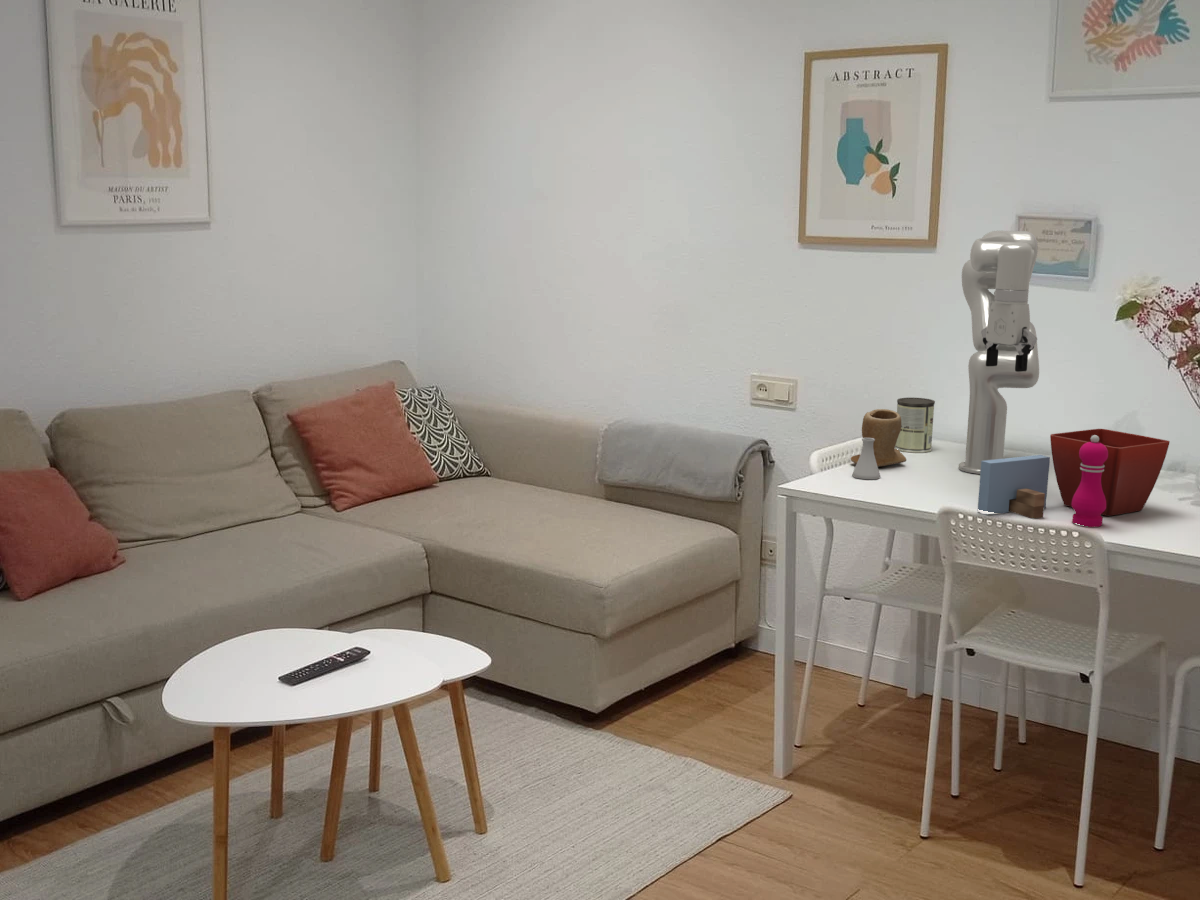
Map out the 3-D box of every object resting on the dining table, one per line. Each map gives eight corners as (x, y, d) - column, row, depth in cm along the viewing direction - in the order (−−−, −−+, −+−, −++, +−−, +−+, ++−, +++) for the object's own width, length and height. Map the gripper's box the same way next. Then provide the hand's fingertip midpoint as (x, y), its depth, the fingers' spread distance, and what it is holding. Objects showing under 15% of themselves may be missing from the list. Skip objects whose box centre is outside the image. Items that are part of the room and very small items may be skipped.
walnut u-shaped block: (982, 503, 308) (984, 480, 307) (992, 501, 309) (994, 479, 308) (1033, 518, 294) (1035, 494, 293) (1042, 517, 295) (1044, 493, 294)
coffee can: (892, 445, 376) (895, 396, 374) (928, 446, 375) (931, 397, 373) (896, 452, 366) (899, 402, 363) (934, 453, 365) (937, 403, 363)
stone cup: (873, 472, 340) (877, 415, 337) (844, 463, 350) (847, 408, 347) (918, 467, 347) (921, 411, 344) (888, 459, 357) (891, 404, 354)
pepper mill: (1064, 519, 294) (1072, 432, 290) (1095, 519, 294) (1103, 432, 290) (1078, 528, 287) (1086, 438, 283) (1110, 527, 287) (1118, 438, 283)
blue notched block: (986, 515, 296) (990, 463, 294) (977, 512, 299) (981, 460, 297) (1045, 507, 304) (1049, 457, 302) (1036, 504, 307) (1040, 454, 305)
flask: (880, 481, 330) (882, 442, 328) (851, 479, 331) (853, 440, 329) (880, 475, 337) (883, 436, 335) (852, 473, 338) (854, 435, 336)
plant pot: (1094, 495, 318) (1100, 427, 315) (1164, 512, 302) (1172, 440, 299) (1042, 504, 308) (1047, 434, 304) (1111, 522, 292) (1119, 448, 289)
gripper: (973, 294, 316) (968, 364, 320) (1026, 300, 301) (1020, 374, 304) (997, 293, 320) (992, 363, 323) (1050, 299, 304) (1044, 372, 308)
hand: (1005, 368), depth 314 cm, fingers open, 9 cm apart
